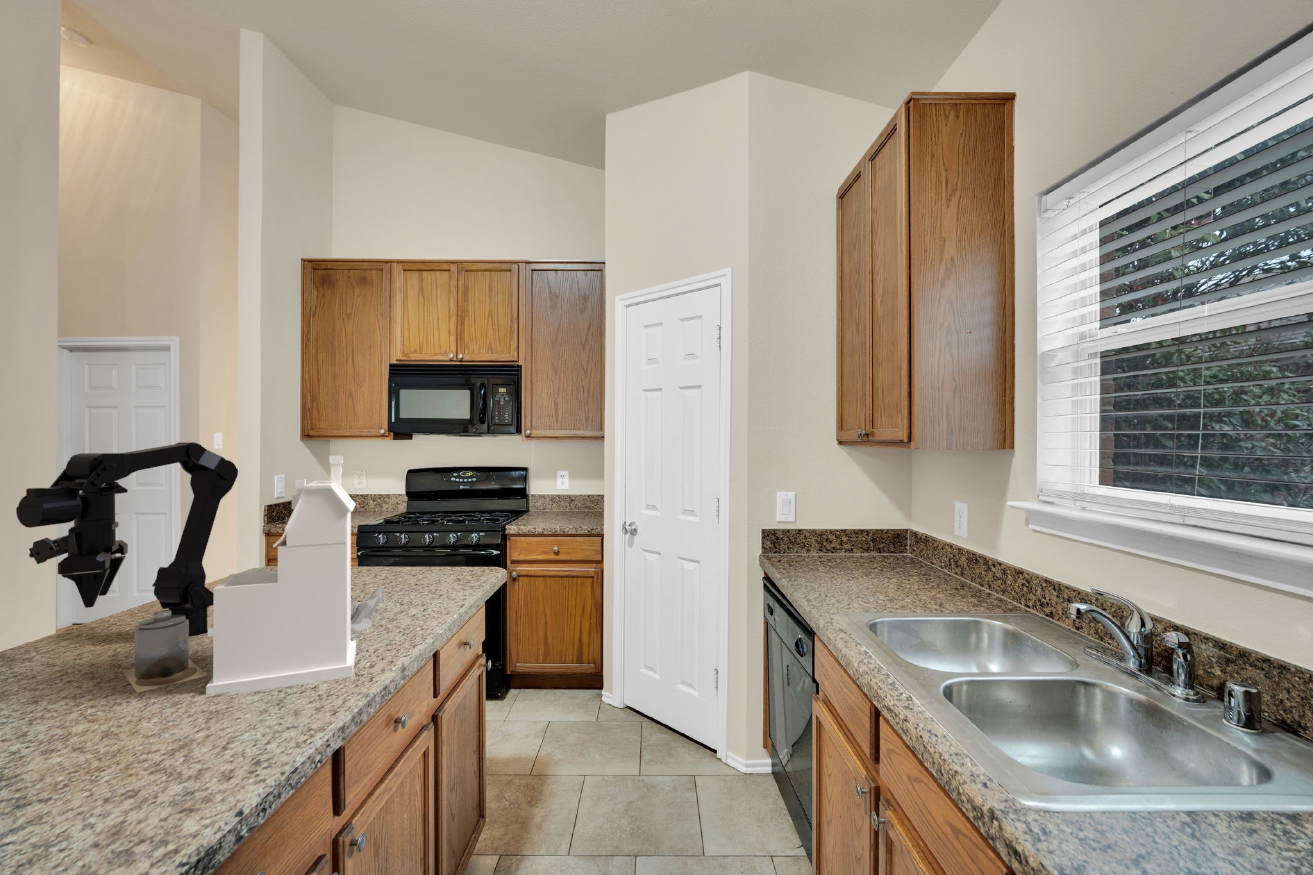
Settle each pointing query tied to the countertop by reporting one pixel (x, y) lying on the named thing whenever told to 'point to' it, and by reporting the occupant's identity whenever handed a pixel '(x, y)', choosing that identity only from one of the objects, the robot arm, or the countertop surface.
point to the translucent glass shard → (364, 611)
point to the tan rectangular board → (163, 678)
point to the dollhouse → (291, 601)
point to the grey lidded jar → (161, 645)
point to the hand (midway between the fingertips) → (96, 601)
